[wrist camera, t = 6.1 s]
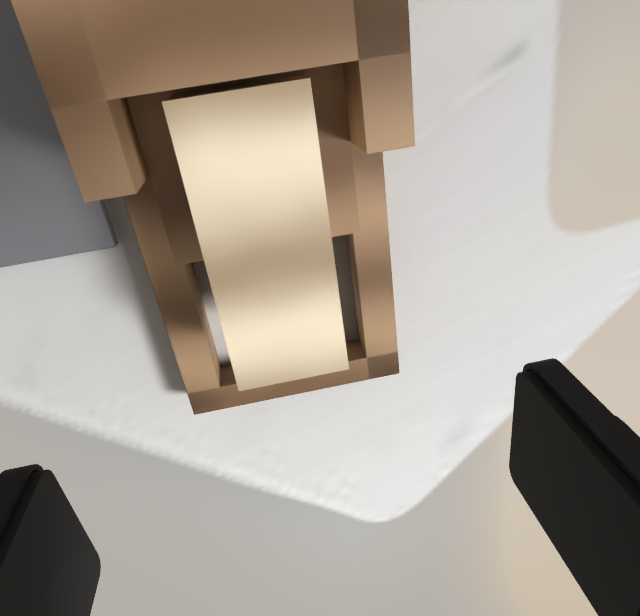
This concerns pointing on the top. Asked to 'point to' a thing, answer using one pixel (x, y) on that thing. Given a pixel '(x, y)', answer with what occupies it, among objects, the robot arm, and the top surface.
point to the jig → (215, 72)
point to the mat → (37, 167)
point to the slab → (262, 225)
